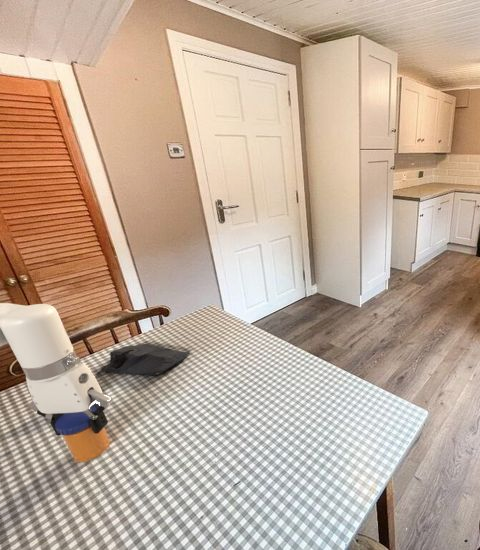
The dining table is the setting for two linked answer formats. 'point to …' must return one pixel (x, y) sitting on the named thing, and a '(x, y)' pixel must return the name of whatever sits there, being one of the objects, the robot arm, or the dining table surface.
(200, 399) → the dining table surface
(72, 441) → the jar
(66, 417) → the lid
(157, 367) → the dark slate chunk
